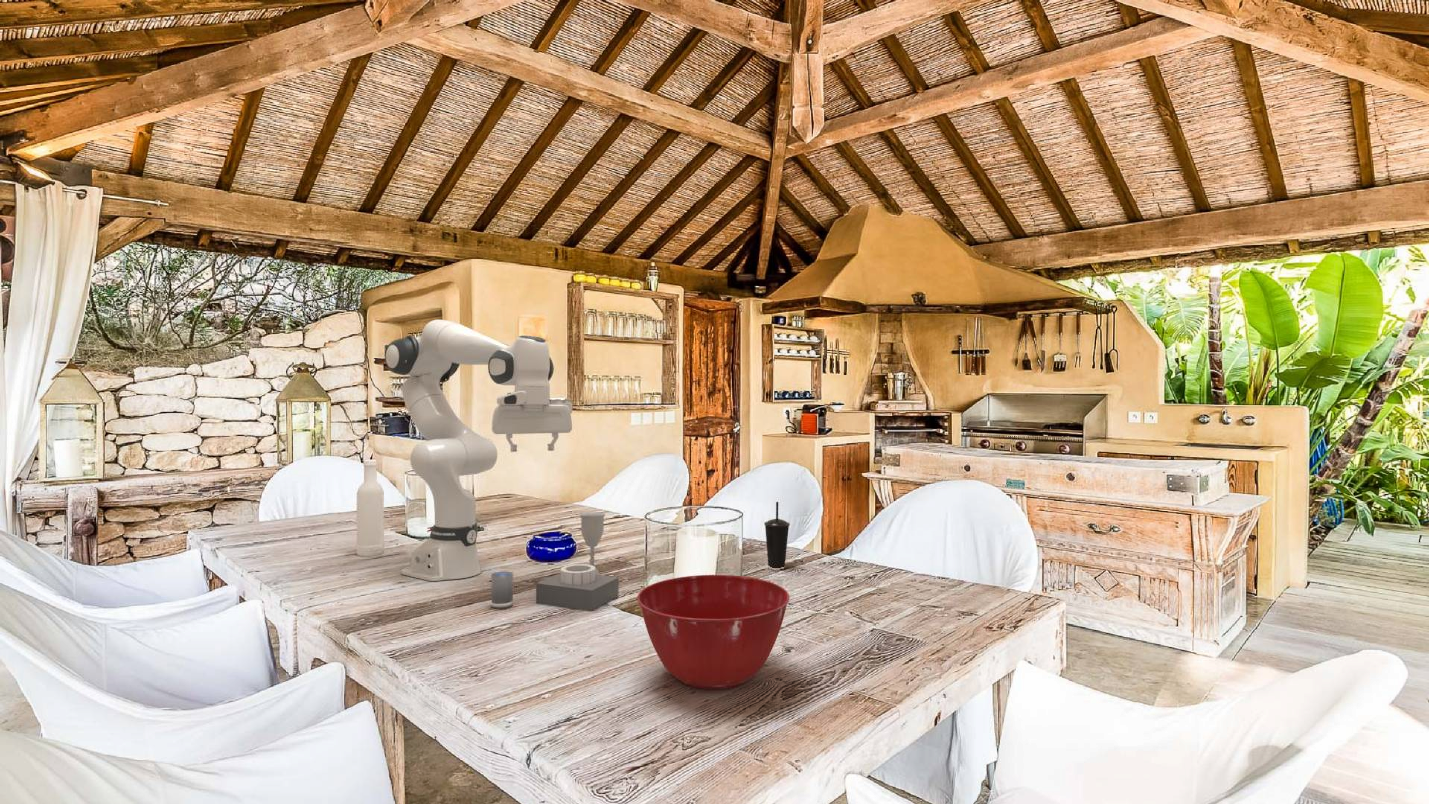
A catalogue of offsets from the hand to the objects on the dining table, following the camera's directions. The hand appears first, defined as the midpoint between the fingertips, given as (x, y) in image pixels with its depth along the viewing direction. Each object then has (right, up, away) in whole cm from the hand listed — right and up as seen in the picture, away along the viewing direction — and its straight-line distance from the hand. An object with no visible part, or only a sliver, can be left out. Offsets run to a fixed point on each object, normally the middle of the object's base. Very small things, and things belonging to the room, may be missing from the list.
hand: (532, 451), depth 187 cm
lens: (-5, -37, -11) cm, 39 cm away
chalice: (+13, -37, +16) cm, 42 cm away
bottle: (-63, -36, +43) cm, 84 cm away
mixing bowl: (+47, -39, -52) cm, 80 cm away
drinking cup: (+66, -37, +28) cm, 81 cm away
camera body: (+13, -37, -5) cm, 40 cm away
